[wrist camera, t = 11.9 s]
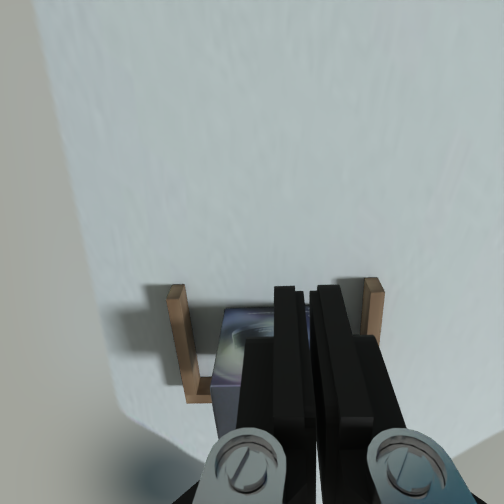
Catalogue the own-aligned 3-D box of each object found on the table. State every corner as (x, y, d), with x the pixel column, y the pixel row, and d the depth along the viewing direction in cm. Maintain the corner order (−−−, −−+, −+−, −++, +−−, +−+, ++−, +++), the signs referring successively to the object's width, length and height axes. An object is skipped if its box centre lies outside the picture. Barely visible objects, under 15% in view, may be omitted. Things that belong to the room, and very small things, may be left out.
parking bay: (377, 277, 35) (385, 292, 33) (367, 382, 41) (372, 400, 39) (172, 284, 36) (166, 299, 34) (191, 385, 42) (186, 403, 40)
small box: (331, 300, 37) (352, 382, 27) (330, 352, 40) (349, 442, 30) (222, 304, 37) (207, 386, 28) (229, 355, 40) (218, 445, 31)
